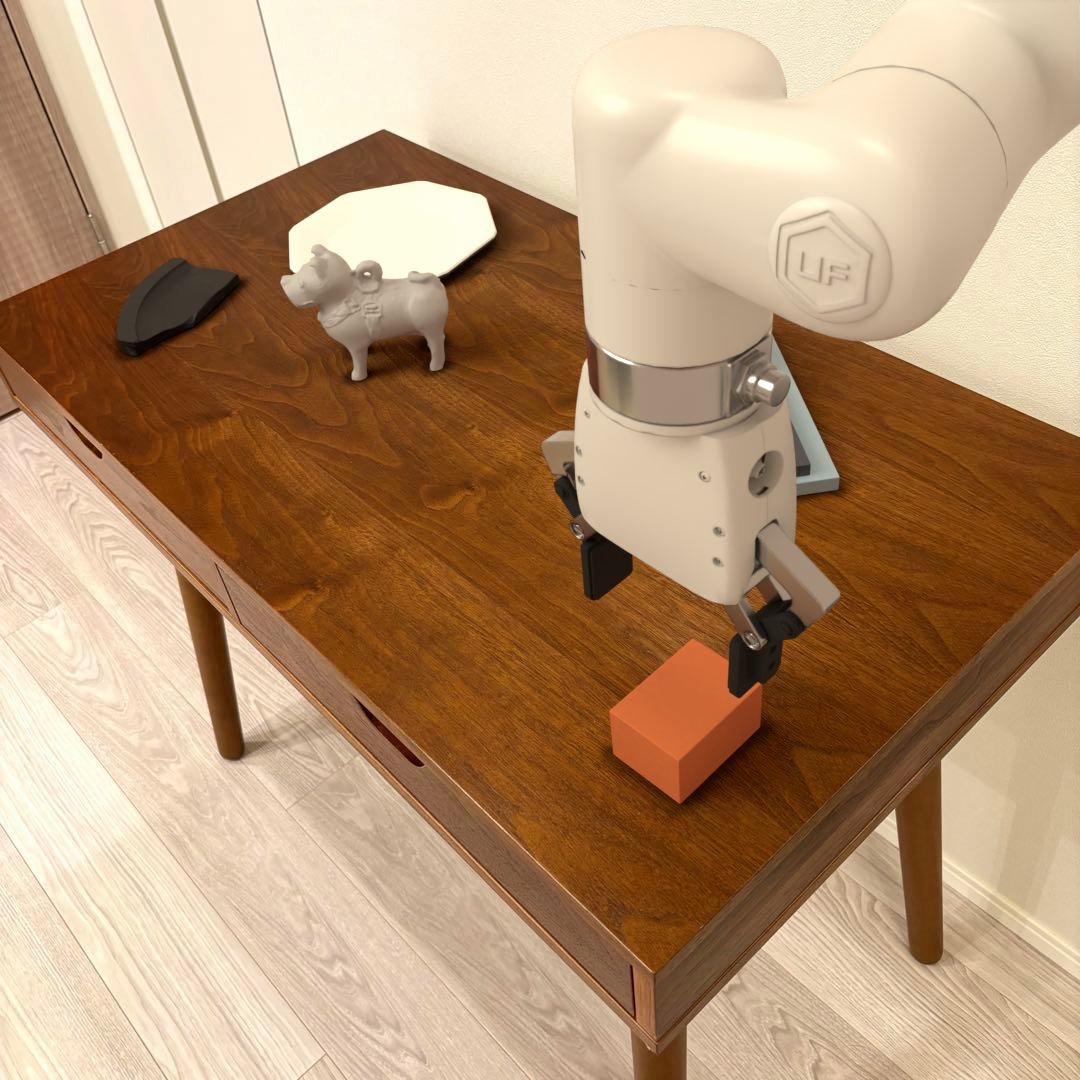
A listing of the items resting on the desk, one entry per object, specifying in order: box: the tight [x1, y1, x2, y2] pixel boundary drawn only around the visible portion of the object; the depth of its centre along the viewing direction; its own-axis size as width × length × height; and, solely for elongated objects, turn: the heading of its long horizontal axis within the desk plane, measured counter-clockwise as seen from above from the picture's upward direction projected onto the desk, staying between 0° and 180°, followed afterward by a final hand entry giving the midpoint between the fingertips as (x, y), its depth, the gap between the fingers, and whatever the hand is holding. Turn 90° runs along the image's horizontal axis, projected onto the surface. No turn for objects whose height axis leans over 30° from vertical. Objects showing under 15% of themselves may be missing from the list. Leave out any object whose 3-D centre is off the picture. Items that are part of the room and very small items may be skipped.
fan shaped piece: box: [116, 257, 241, 357], centre depth 105 cm, size 8×14×2 cm, turn 156°
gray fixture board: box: [771, 334, 841, 497], centre depth 85 cm, size 12×20×5 cm, turn 6°
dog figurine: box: [280, 244, 449, 381], centre depth 93 cm, size 5×13×11 cm, turn 96°
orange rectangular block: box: [609, 638, 764, 805], centre depth 64 cm, size 5×7×4 cm
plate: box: [288, 180, 498, 280], centre depth 110 cm, size 20×20×2 cm
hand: (677, 629), depth 59 cm, fingers open, 9 cm apart
